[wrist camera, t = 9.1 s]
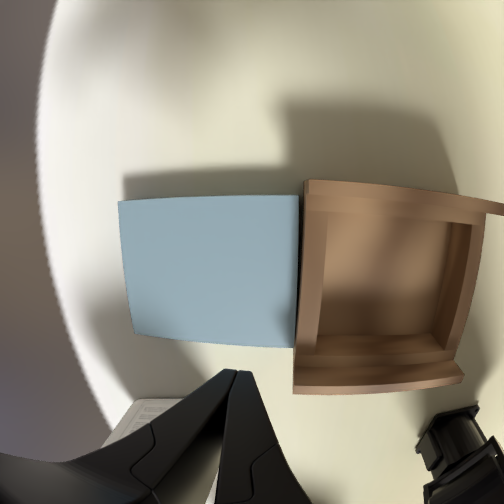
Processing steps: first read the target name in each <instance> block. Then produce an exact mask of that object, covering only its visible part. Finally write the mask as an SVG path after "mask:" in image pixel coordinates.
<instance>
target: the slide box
mask: <svg viewBox="0 0 504 504" xmlns="http://www.w3.org/2000/svg"><path fill="white" fill-rule="evenodd" d="M486 213H490V214H496V215H501V216H504V204H503V203H498V202H493V201H488V200H483V199H478V198H472V197H467V196H461V195H455V194H449V193H443V192H436V191H429V190H422V189H414V188H407V187H398V186H389V185H380V184H370V183H359V182H347V181H333V180H317V179H308V180H306V181H304V186H303V216H302V238H301V256H300V272H299V287H298V300H297V313H296V324H295V338H294V348H293V394H303V395H352V394H374V393H388V392H400V391H409V390H418V389H426V388H433V387H440V386H446V385H452V384H457V383H461V382H462V380H463V377H464V373H463V372H462V371H461V369H460V368H459V367H458V365H457V364H456V363H455V361H454V360H453V359H454V356H455V354H456V351H457V348H458V345H459V342H460V339H461V336H462V333H463V330H464V327H465V323H466V320H467V316H468V313H469V309H470V305H471V301H472V297H473V293H474V289H475V284H476V280H477V275H478V270H479V264H480V258H481V252H482V246H483V238H484V230H485V220H486Z"/></svg>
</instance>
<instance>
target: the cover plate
mask: <svg viewBox="0 0 504 504" xmlns="http://www.w3.org/2000/svg"><path fill="white" fill-rule="evenodd" d="M118 213H119V227H120V239H121V249H122V258H123V267H124V274H125V282H126V289H127V295H128V301H129V307H130V313H131V319H132V324H133V329H134V334H140V335H147V336H153V337H161V338H168V339H176V340H185V341H194V342H203V343H214V344H226V345H239V346H256V347H278V348H294V338H295V320H296V299H297V272H298V226H299V196H298V195H215V196H187V197H167V198H150V199H135V200H126V201H118Z"/></svg>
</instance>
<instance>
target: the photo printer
mask: <svg viewBox="0 0 504 504" xmlns="http://www.w3.org/2000/svg"><path fill="white" fill-rule="evenodd" d="M181 400H182V399H139V400H136V401H135V402H134V403H133V404H132V405H131V406H130V408H129V409H128V411H127V412H126V413H125V415H124V416H123V418H122V419H121V420H120V422H119V423H118V425H117V426H116V427H115V429H114V430H113V432H112V433H111V434H110V436H109V437H108V439H107V440H106V441H105V443H104V444H103V446H102V447H105V446H107V445H109V444H111V443H113V442H115V441H117V440H119V439H121V438H123V437H125V436H127V435H129V434H131V433H132V432H134V431H136V430H137V429H139V428H140V427H142V426H144V425H145V424H147V423H150V421H151V420H153V419H154V418H156V417H157V416H159V415H160V414H162V413H163V412H165V411H166V410H168V409H169V408H171V407H172V406H174V405H175V404H176V403H178V402H179V401H181ZM102 447H101V448H102Z"/></svg>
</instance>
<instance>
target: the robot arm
mask: <svg viewBox="0 0 504 504" xmlns="http://www.w3.org/2000/svg"><path fill="white" fill-rule="evenodd" d="M479 409H480V407H479V406H478V405H475V406H472V407H468V408H464V409H460V410H456V411H451V412H446V413H442V414H438V415H436V416H435V417H434V419H433V421H432V423H431V424H430V426H429V428H428V430H427V432H426V433H425V435H424V437H423V438H422V440H421V442H420V443H419V445H418V447H417V448H416V450H415V451H416V453H417V454H419V453H421V454H422V457H423V460H424V463H425V465H426V468H427V470H428V471H431V473H432V476H433V479H434V480H433V481H431V482H430V483H427V484H425V485H424V486H423V488H424V492H423V495H424V504H504V450H503V448H502V447H501V445H500V444H499V442H498V441H497V439H496V438H495V437H494V436H492V437H490V438H489V440H488V441H487V439H486V437H485V436H484V434H483V432H482V430H481V429H480V427H479V425H478V424H477V422H476V420H475V419H474V418H475V416H476V414H477V413H478V411H479ZM496 454H497V456H496V457H495V455H496ZM218 468H219V471H218ZM217 471H218V479H217V487H216V495H215V503H214V504H313V503H312V502H311V500H310V499H309V497H308V496H307V494H306V493H305V491H304V490H303V488H302V487H301V485H300V484H299V482H298V481H297V479H296V477H295V476H294V474H293V472H292V471H291V469H290V467H289V465H288V463H287V461H286V459H285V456H284V454H283V452H282V449H281V447H280V445H279V442H278V440H277V437H276V435H275V432H274V430H273V427H272V424H271V422H270V419H269V417H268V414H267V411H266V409H265V406H264V403H263V401H262V398H261V395H260V393H259V390H258V387H257V385H256V382H255V379H254V376H253V374H252V372H251V371H243V370H239V371H237V370H233V369H223V370H222V371H220V372H219V373H218V374H216V375H215V376H214V377H212V378H211V379H210V380H208V381H207V382H206V383H204V384H203V385H202V386H200V387H199V388H198V389H196V390H195V391H193V392H192V393H191V394H189V395H188V396H186V397H185V398H184V399H182V400H181V401H179V402H178V403H176V404H175V405H174V406H172V407H171V408H169V409H168V410H166V411H165V412H163V413H162V414H160V415H159V416H157V417H156V418H154V419H153V420H151V421H150V423H147V424H145V425H144V426H142V427H140V428H139V429H137V430H136V431H134V432H132V433H131V434H129V435H127V436H125V437H123V438H121V439H119V440H117V441H115V442H113V443H111V444H109V445H107V446H105V447H102V448H100V449H98V450H96V451H93V452H91V453H89V454H86V455H84V456H81V457H79V458H76V459H73V460H70V461H66V462H45V461H39V460H33V459H27V458H22V457H17V456H12V455H8V454H4V453H0V504H205V503H206V500H207V498H208V495H209V492H210V490H211V487H212V484H213V482H214V479H215V476H216V474H217Z"/></svg>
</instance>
